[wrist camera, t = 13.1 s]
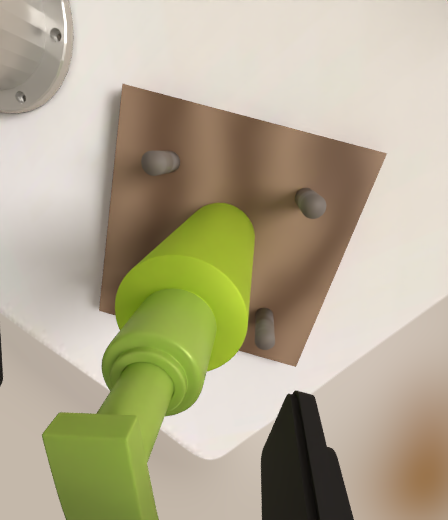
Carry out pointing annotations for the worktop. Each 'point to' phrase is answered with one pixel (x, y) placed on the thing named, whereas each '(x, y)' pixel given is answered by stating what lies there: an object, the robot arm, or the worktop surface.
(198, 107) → the peg stand
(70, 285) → the worktop surface
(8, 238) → the worktop surface
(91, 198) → the worktop surface
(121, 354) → the soap dispenser
